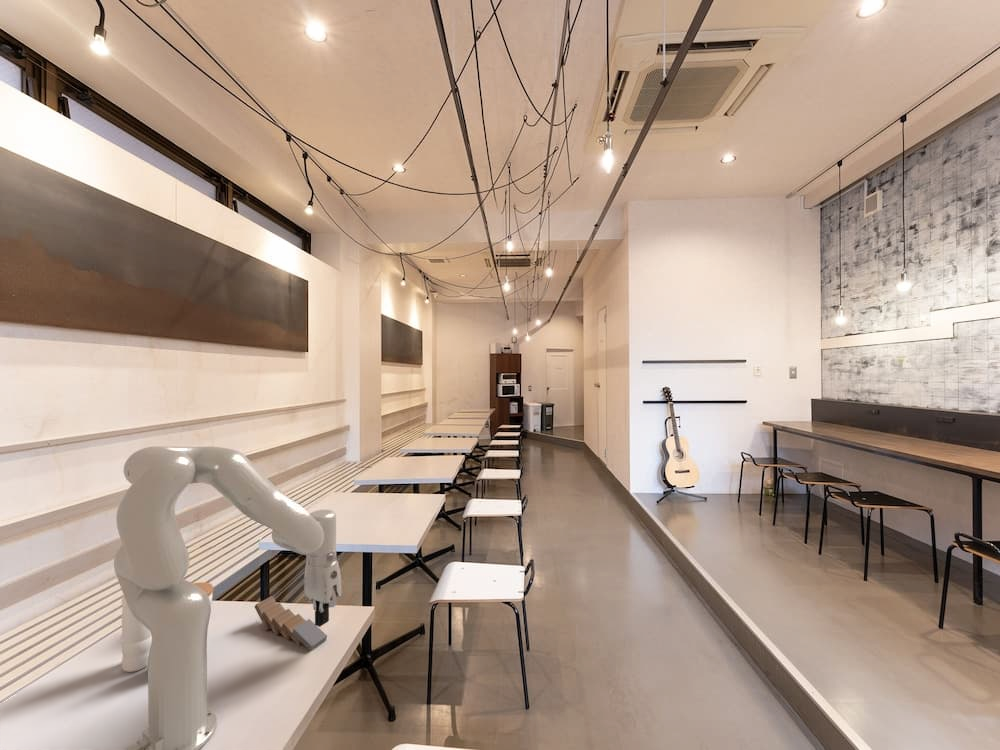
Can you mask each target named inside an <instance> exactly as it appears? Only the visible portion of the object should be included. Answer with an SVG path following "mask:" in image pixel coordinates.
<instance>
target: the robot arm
mask: <svg viewBox="0 0 1000 750" xmlns="http://www.w3.org/2000/svg"><path fill="white" fill-rule="evenodd" d="M123 474H124V477H125V479H126V481H128V482H129V484H131V485H130V486H129V488H128V489H127V490H126V492H125V494H124V496H122V499H121V501H120V503H119V505H118V508H117V511H116V516H115V517H116V527H117V531H118V535H119V538H120V541H121V545H120V546H119V548H118V550H117V551H116V553H115V555H114V559H113V569H114V574H115V575H116V576H115V577H116V578H117V581H118V583H119V586H120V590H121V591H122V595H123V596H124V597H125V599H126V602H127V604H128V607H129V609H130V611H131V613H132V614H133V616H134V617H135V618H136V619H137V620H138V621H139V622H140V623H142V624H143V625H144V626H145V627H146V628H148V629H149V630H150V632H151V635H152V643H151V647H150V651H149V656H148V666H147V692H148V693H147V694H148V695H147V700H148V701H147V704H148V706H147V707H148V709H147V711H148V713H147V714H148V719H147V720H148V725H147V726H148V727H147V728H146V729H145V730H143V731H142V733H141V735H142V738H140V739H138V740H137V741H136V744H135V745H133V746H132V747H130V748H127V750H201V748H202V747H204V745H206V743H208V741H209V740H210V739H211V738H212V737H213V735H214V733H215V731H216V729H217V716H216V715H215V713H214V712H212V711H211V710H208V650H207V648H208V629H209V623H210V618H211V613H212V603H210V599H209V597H208V595H207V594H206V593H205V591H203V590H202V589H201V588H200V587H198V586H196V585H195V584H193V583H194V582H193V583H192V582H191V581H189V580H187V579H184V577H185V576H186V575H187V572H188V571H189V567H190V562H191V561H190V555H189V554H190V553H189V551H188V548H187V547H186V544H185V541H184V538H183V535H182V532H181V530H180V527H179V524H178V520H177V517H176V511H175V509H176V504H177V501H178V499H179V498H180V495H182V493H183V492H184V490H186V488H187V487H188V486H190V485H191V484H199V483H200V484H201V483H203V484H206V485H210V486H211V487H213V488H214V489H215V490H216V491H218V493H220V495H222V496H223V497H224V498H225V499H227V500H228V502H229V503H231V505H233V506H234V507H235V508H236V509H238V511H239V512H240V513H242V514H243V516H244V515H245V516H246V517H247V518H249V519H251V520H252V521H253V522H256V523H258V524H260V525H262V526H265V527H267V528H268V529H270V530H272V531H271V539H272V541H273V543H274V544H275V545H276V546H277V547H280V548H283V549H285V550H288V551H291V552H294V553H296V554H298V555H299V554H300V555H304V556H306V563H305V567H304V577H303V591H304V595H305V597H306V598H307V599H308V600H310V601H311V602H312V608H313V610H314V624H315V625H316V626H317V627H318V628H320V627H322V626H324V625H325V624H327V623H328V622H329V621H330V610H329V609H330V608H334V607H336V606H337V605H338V600H337V598H340V597H341V596H342V578H341V569H340V565H339V561H338V560H337V559H338V558H337V515H336V512H335V511H334V510H332V509H318V510H315V511H311V513H309V512H308V511H307V510H306V509H305V508H304V507H303V506H301V505H300V504H299V503H298V502H296V501H295V500H293V499H292V498H290V497H289V496H288V495H287V494H286V493H285V492H283V491H281V490H280V489H279V488H277V487H276V486H275V485H274V484H273V483H272V482H271V481H270V480H269V479H268V478H267V477H266V476H265V475H264V474H263V473H262V471H260V469H258V467H257V466H256V465H255V464H254V463H253V462H252V461H251V460H250V459H249V458H248V457H247V456H246V455H244V454H243V453H242V452H240V451H238V450H236V449H231V448H225V447H221V446H147V447H144V448H141V449H138V450H137V451H134V452H133V453H132V454H131V455H130V456H129V457H127V460H126V461H125V462H124V465H123ZM189 484H190V485H189Z"/></svg>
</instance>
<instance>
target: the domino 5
mask: <svg viewBox="0 0 1000 750" xmlns="http://www.w3.org/2000/svg"><path fill="white" fill-rule="evenodd" d="M293 634H294V635H295V636H296V637H297V638H298V639H299V640H300V641H301V642H302V644H303V646H304V647H305V648H306V649H308V651H309V652H312V651H313V650H315V649H316V648H318V647H319V646H320V645H322V644H324V643H325V642H326V641H327V637H328V635H327V634H326V633H325V632H324V631H322V629H320V627H319V626H316V625H315V622H313V621H312V620H311V619H310V618H308V619H306V620H305V622H303V623H302V624H300V625H298V626H297V627H295V628H294V629H293Z"/></svg>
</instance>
